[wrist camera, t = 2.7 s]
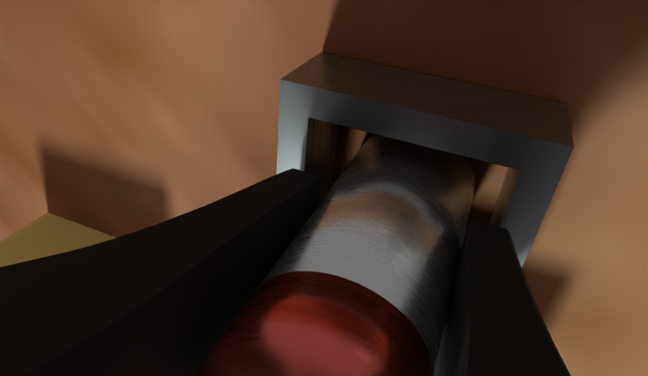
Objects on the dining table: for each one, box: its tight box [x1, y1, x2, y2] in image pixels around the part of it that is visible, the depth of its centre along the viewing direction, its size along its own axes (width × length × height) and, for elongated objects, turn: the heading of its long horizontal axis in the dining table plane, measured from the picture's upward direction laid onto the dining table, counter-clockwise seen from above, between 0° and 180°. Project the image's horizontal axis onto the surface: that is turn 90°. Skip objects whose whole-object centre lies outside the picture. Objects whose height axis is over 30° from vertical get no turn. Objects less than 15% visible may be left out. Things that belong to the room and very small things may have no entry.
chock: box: [0, 213, 116, 267], centre depth 16 cm, size 5×4×4 cm
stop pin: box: [197, 134, 475, 376], centre depth 8 cm, size 3×3×6 cm
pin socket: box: [277, 52, 574, 268], centre depth 10 cm, size 5×5×2 cm
